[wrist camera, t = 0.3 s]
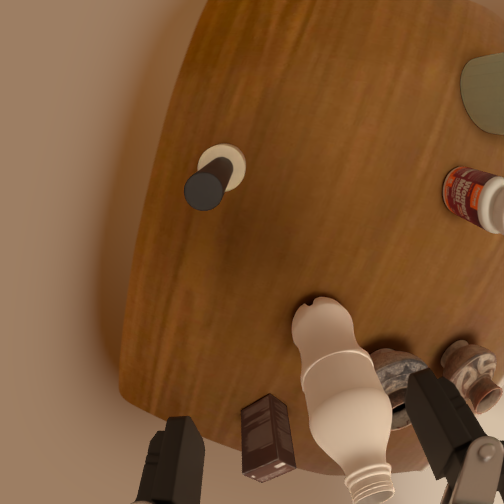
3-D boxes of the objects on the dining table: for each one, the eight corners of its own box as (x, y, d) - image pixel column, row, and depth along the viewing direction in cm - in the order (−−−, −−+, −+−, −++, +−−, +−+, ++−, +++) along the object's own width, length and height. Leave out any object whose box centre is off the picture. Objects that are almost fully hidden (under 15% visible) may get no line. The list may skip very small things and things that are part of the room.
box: (259, 422, 46) (261, 484, 35) (240, 409, 45) (239, 473, 34) (289, 405, 45) (298, 470, 34) (271, 391, 44) (276, 458, 32)
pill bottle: (437, 172, 32) (497, 191, 22) (473, 161, 32) (534, 177, 21) (444, 219, 35) (500, 252, 24) (479, 206, 34) (536, 234, 23)
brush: (195, 167, 32) (150, 198, 17) (221, 134, 31) (196, 136, 16) (227, 193, 33) (210, 245, 19) (254, 161, 32) (259, 185, 17)
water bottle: (326, 345, 41) (376, 517, 17) (278, 327, 39) (303, 517, 16) (356, 303, 38) (441, 472, 15) (307, 281, 37) (371, 472, 14)
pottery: (464, 374, 44) (494, 419, 33) (336, 393, 44) (353, 455, 33) (486, 321, 40) (527, 363, 29) (350, 333, 40) (378, 397, 29)
